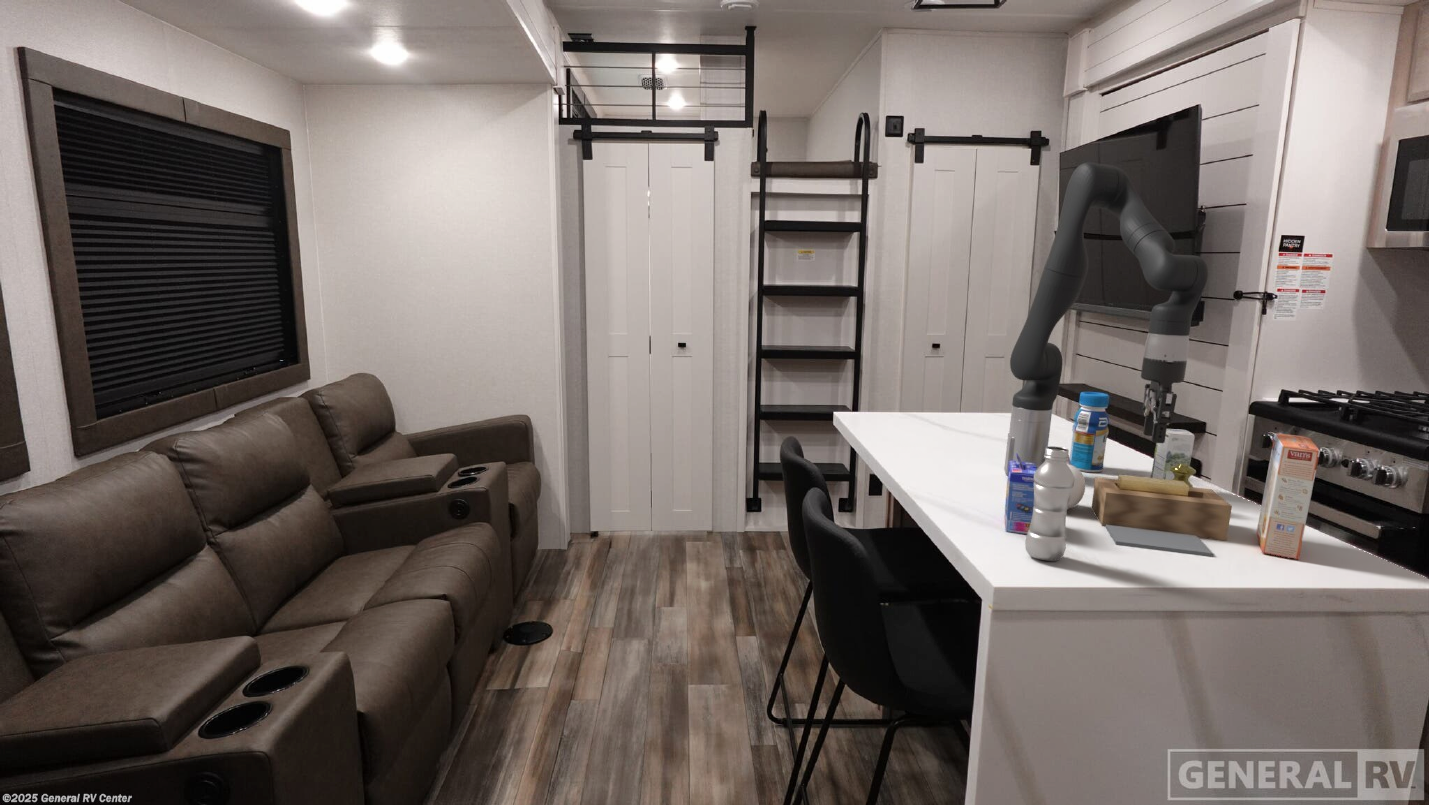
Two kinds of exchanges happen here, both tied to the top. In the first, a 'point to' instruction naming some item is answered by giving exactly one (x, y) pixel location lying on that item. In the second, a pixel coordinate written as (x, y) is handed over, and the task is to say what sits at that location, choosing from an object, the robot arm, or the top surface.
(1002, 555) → the top surface
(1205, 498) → the pocket board
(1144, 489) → the pale yellow rectangular block
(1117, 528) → the slate mat
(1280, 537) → the cracker box
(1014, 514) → the ink cartridge box
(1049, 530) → the plastic bottle
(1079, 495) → the ornament
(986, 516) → the top surface
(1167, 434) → the syrup box
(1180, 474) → the gold spiky piece
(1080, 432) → the beverage bottle
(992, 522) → the top surface
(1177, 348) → the robot arm
